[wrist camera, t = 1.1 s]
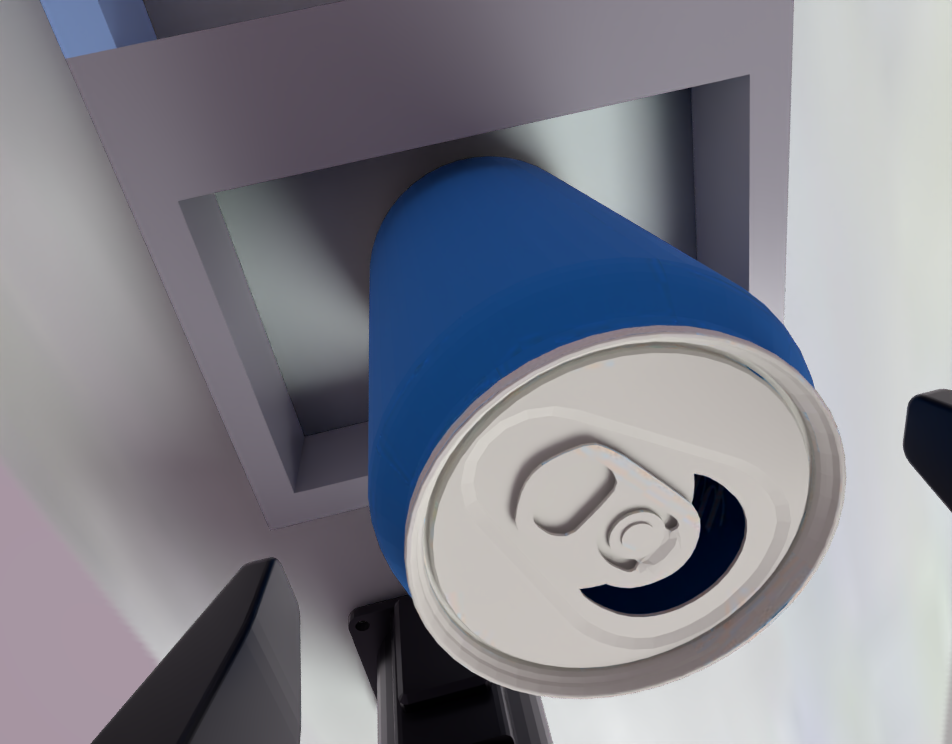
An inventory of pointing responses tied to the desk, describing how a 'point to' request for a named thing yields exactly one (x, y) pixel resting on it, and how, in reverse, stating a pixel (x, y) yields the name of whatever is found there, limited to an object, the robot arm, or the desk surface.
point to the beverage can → (583, 439)
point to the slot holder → (399, 129)
